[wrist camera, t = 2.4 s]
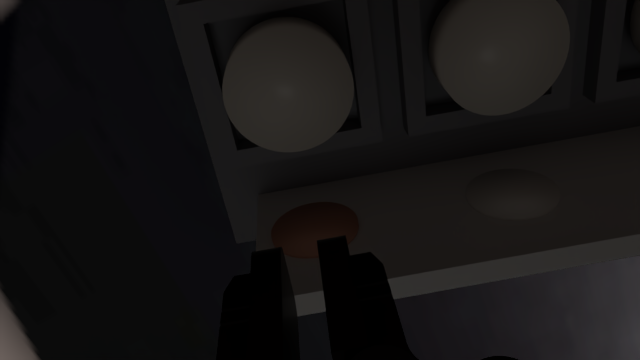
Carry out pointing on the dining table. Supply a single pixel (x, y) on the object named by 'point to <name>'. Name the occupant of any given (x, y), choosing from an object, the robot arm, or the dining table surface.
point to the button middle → (498, 52)
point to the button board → (430, 152)
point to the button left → (287, 85)
